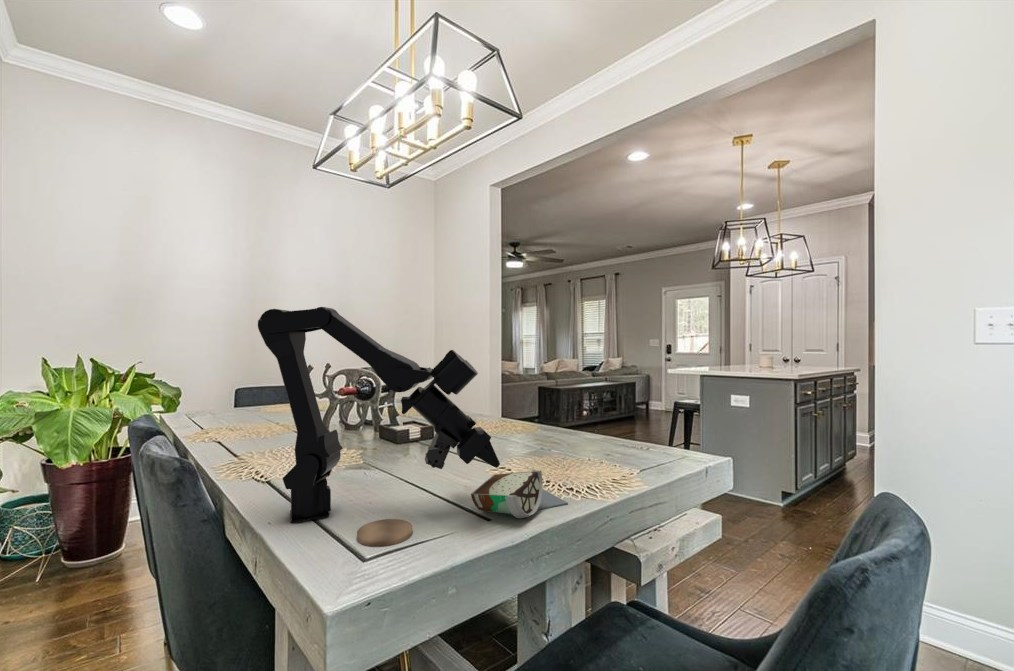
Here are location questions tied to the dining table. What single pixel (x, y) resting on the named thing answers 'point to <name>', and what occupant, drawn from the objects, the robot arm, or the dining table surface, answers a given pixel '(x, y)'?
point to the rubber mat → (548, 501)
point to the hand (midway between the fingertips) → (498, 465)
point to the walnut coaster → (384, 532)
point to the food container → (510, 493)
